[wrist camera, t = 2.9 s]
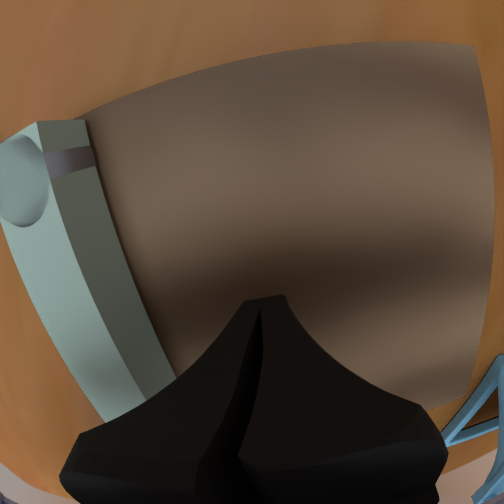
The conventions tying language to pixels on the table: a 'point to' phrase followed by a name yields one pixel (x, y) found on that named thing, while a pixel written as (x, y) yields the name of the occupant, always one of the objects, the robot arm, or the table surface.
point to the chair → (483, 428)
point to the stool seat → (314, 204)
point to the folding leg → (78, 266)
